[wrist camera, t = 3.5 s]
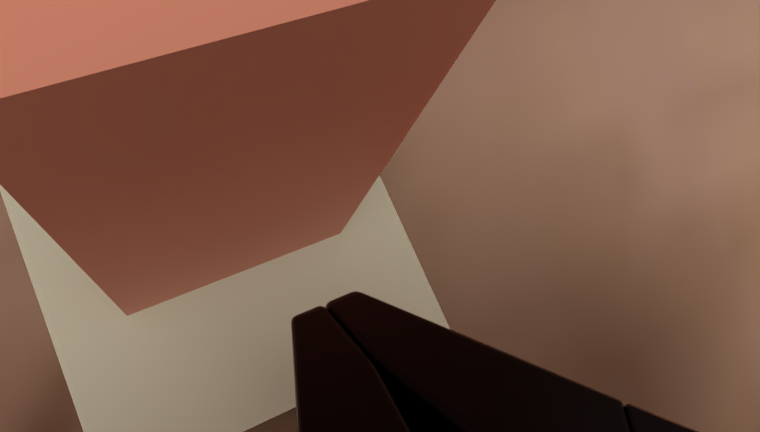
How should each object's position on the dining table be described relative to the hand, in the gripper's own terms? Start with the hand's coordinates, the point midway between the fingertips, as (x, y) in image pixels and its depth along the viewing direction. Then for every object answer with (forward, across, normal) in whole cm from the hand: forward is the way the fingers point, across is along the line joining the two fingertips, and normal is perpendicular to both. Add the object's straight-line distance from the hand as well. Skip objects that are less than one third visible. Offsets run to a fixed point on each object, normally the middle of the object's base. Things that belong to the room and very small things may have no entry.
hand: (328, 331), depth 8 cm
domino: (+7, 0, +3) cm, 8 cm away
